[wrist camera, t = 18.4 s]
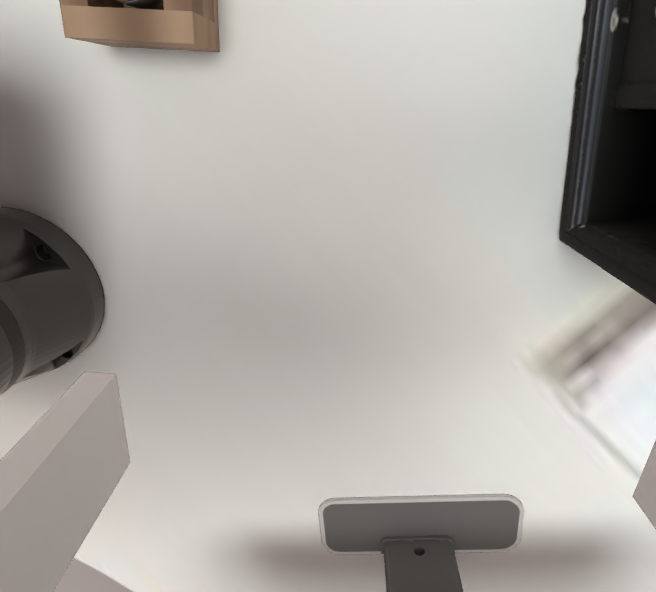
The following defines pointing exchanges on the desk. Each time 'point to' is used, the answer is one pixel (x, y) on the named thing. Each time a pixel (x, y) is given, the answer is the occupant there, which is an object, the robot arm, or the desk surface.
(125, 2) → the plunger
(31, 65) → the desk surface
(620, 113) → the small black cabinet
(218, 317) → the desk surface
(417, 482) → the desk surface
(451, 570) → the computer monitor
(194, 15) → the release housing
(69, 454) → the robot arm
